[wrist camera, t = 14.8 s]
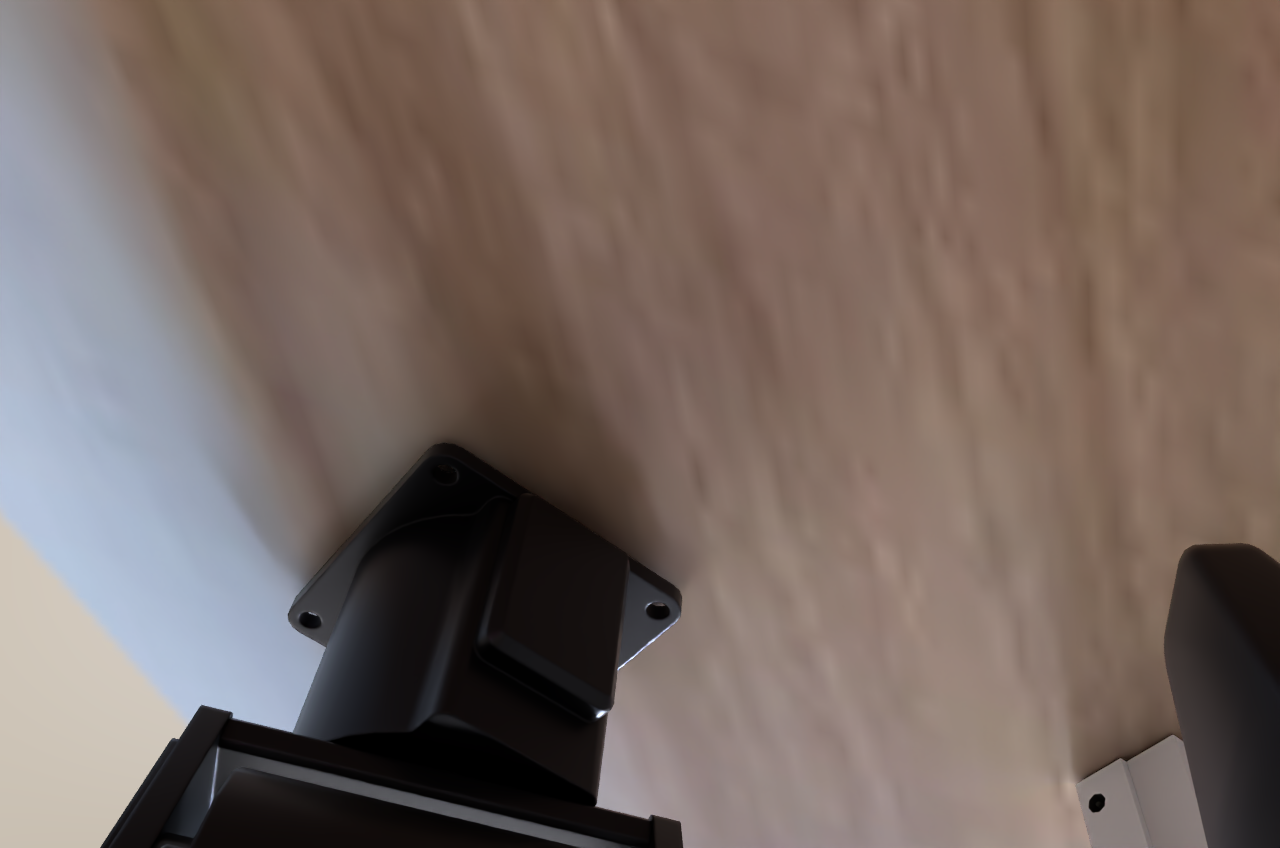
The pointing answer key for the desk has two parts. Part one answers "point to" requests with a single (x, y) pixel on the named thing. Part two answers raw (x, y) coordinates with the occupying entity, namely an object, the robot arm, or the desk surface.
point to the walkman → (1143, 801)
